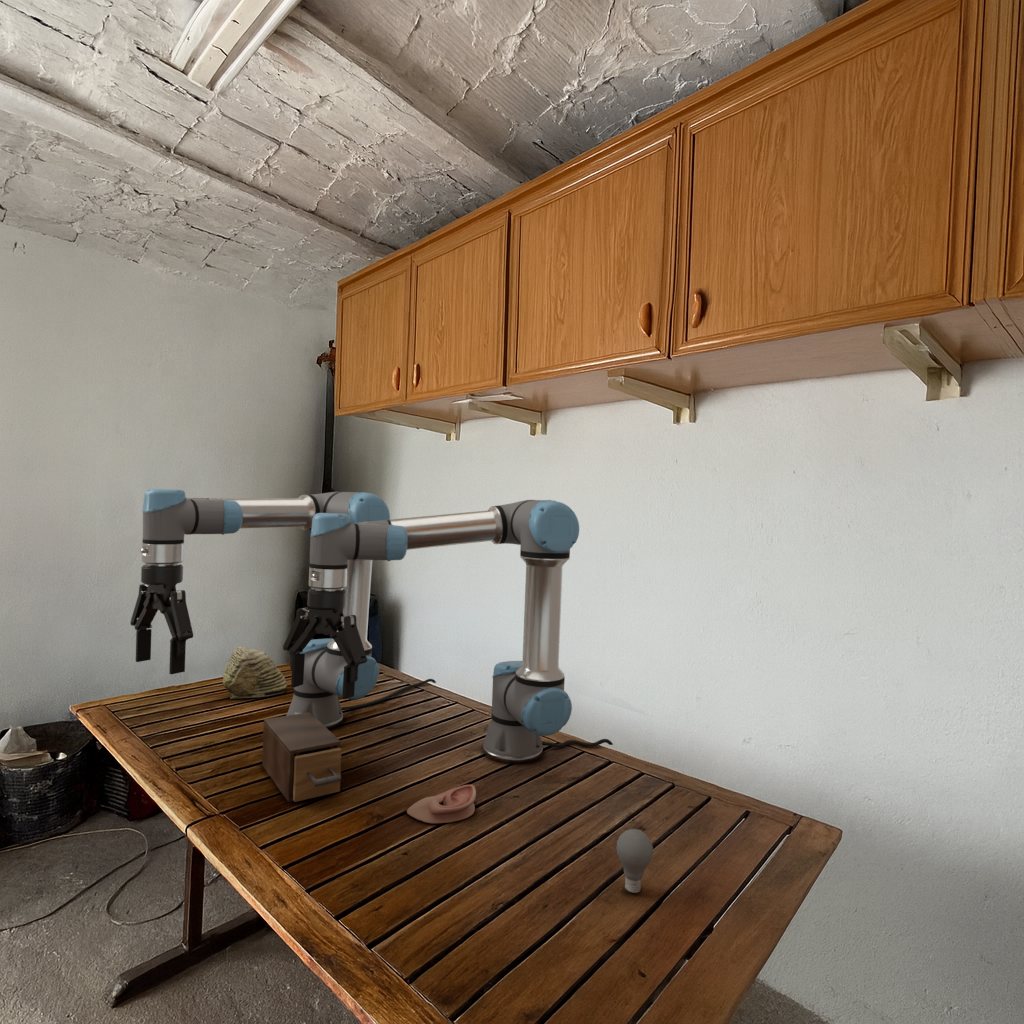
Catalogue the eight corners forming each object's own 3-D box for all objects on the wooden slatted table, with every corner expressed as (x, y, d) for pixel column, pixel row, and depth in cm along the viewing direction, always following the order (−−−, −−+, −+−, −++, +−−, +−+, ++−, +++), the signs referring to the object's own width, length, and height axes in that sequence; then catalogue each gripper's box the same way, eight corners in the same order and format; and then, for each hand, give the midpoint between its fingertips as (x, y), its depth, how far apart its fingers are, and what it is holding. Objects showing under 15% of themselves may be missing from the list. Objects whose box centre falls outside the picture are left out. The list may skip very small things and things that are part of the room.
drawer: (350, 802, 130) (351, 759, 130) (303, 814, 124) (305, 768, 124) (310, 757, 151) (311, 720, 151) (268, 766, 145) (270, 727, 145)
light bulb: (610, 879, 108) (613, 822, 108) (644, 879, 109) (647, 822, 109) (619, 902, 102) (622, 840, 102) (655, 901, 103) (658, 840, 103)
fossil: (218, 695, 195) (220, 647, 195) (278, 685, 208) (279, 640, 207) (228, 703, 189) (230, 653, 188) (289, 692, 201) (290, 645, 201)
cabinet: (338, 790, 137) (340, 741, 137) (288, 802, 131) (290, 750, 130) (308, 756, 154) (309, 712, 154) (262, 765, 148) (263, 719, 148)
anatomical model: (401, 799, 125) (421, 775, 137) (400, 819, 126) (420, 793, 137) (466, 808, 123) (481, 783, 134) (465, 829, 123) (480, 802, 134)
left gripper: (114, 559, 134) (111, 659, 134) (176, 571, 120) (173, 682, 120) (150, 557, 140) (147, 652, 141) (214, 568, 126) (210, 674, 127)
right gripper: (268, 583, 132) (263, 685, 132) (364, 597, 121) (358, 707, 121) (295, 580, 138) (290, 677, 139) (388, 593, 128) (382, 697, 128)
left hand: (159, 666), depth 131 cm, fingers open, 13 cm apart
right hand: (322, 691), depth 130 cm, fingers open, 13 cm apart
